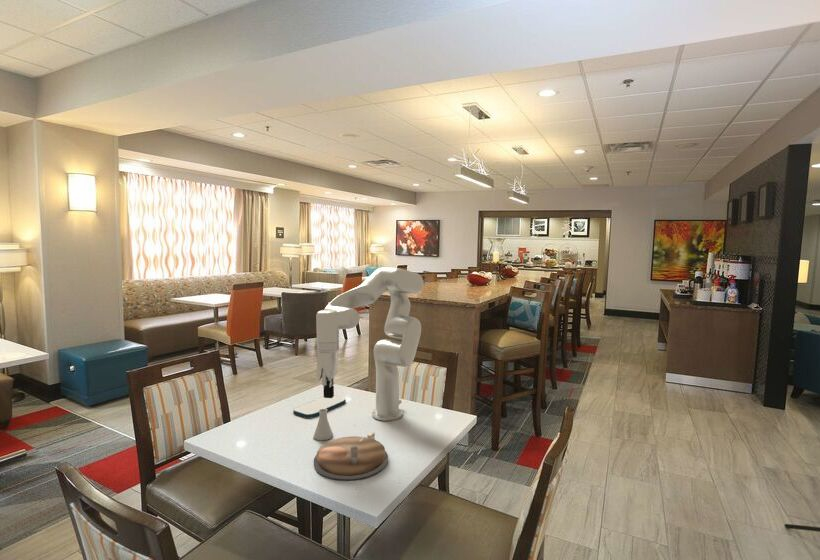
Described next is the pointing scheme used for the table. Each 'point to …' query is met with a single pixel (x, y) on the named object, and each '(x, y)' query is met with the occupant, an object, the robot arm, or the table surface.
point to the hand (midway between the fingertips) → (328, 397)
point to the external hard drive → (318, 406)
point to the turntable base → (352, 477)
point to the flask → (323, 427)
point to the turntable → (350, 455)
